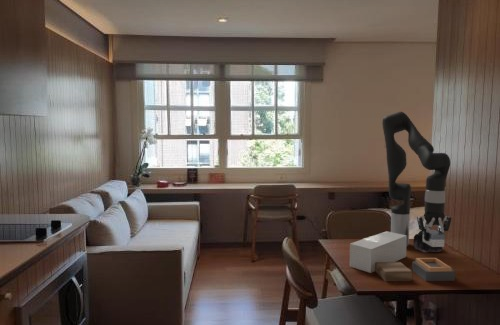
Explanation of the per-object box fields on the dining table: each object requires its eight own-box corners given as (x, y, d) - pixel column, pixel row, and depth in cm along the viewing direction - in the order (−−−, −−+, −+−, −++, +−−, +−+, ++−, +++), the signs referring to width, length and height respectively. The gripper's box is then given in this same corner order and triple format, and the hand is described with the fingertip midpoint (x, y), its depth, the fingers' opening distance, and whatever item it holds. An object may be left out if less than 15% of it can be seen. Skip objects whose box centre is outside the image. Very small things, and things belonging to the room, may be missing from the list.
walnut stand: (375, 271, 162) (375, 262, 162) (400, 270, 163) (400, 262, 162) (385, 281, 151) (385, 271, 151) (411, 280, 152) (412, 271, 151)
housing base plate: (432, 246, 152) (432, 239, 152) (422, 241, 160) (422, 234, 160) (444, 246, 153) (444, 239, 152) (434, 241, 161) (434, 234, 160)
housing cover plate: (432, 239, 152) (432, 234, 152) (422, 234, 160) (422, 229, 160) (444, 239, 152) (444, 234, 152) (434, 234, 160) (434, 229, 160)
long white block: (370, 273, 161) (371, 249, 160) (349, 266, 169) (350, 243, 168) (406, 257, 182) (406, 235, 181) (385, 251, 190) (386, 231, 189)
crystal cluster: (444, 256, 184) (447, 236, 184) (414, 251, 188) (417, 231, 188) (439, 250, 197) (441, 231, 197) (411, 245, 201) (413, 227, 201)
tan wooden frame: (412, 270, 163) (412, 258, 163) (438, 269, 164) (439, 257, 163) (425, 281, 151) (426, 268, 151) (454, 280, 152) (455, 267, 151)
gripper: (422, 202, 151) (420, 243, 152) (456, 202, 152) (455, 243, 153) (413, 199, 159) (412, 238, 160) (446, 199, 159) (445, 238, 160)
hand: (433, 240), depth 156 cm, fingers closed on housing base plate, housing cover plate, 5 cm apart
